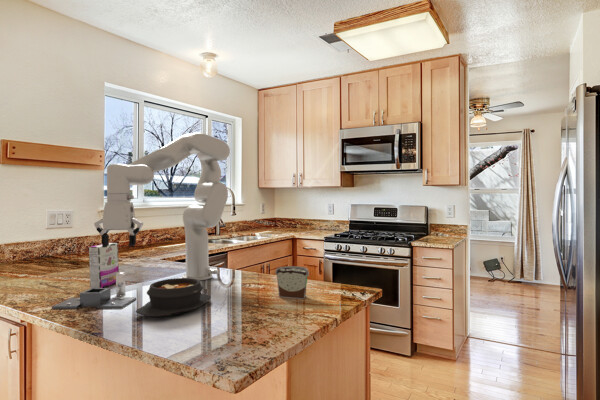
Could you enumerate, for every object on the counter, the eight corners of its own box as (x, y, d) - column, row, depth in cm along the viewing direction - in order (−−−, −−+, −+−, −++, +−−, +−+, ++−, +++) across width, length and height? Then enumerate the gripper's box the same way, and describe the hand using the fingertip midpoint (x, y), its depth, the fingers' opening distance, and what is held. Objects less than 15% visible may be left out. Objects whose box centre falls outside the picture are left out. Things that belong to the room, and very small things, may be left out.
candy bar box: (108, 281, 158) (108, 242, 158) (119, 282, 157) (118, 242, 157) (88, 288, 147) (88, 246, 147) (100, 289, 146) (99, 246, 146)
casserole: (168, 326, 104) (167, 296, 104) (121, 317, 112) (120, 289, 112) (224, 302, 127) (223, 277, 126) (181, 296, 135) (181, 272, 135)
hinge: (136, 299, 131) (135, 286, 131) (121, 308, 121) (121, 294, 121) (71, 300, 131) (71, 287, 131) (52, 308, 121) (51, 294, 121)
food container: (313, 294, 135) (313, 266, 134) (308, 299, 129) (308, 270, 129) (281, 292, 139) (281, 265, 138) (275, 296, 133) (274, 268, 133)
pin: (126, 294, 138) (126, 272, 138) (122, 296, 135) (122, 274, 135) (118, 294, 138) (118, 272, 138) (114, 296, 135) (114, 274, 135)
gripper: (146, 198, 140) (147, 244, 140) (100, 198, 140) (100, 244, 140) (137, 198, 132) (137, 247, 132) (88, 198, 133) (89, 247, 133)
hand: (118, 246), depth 136 cm, fingers open, 9 cm apart
